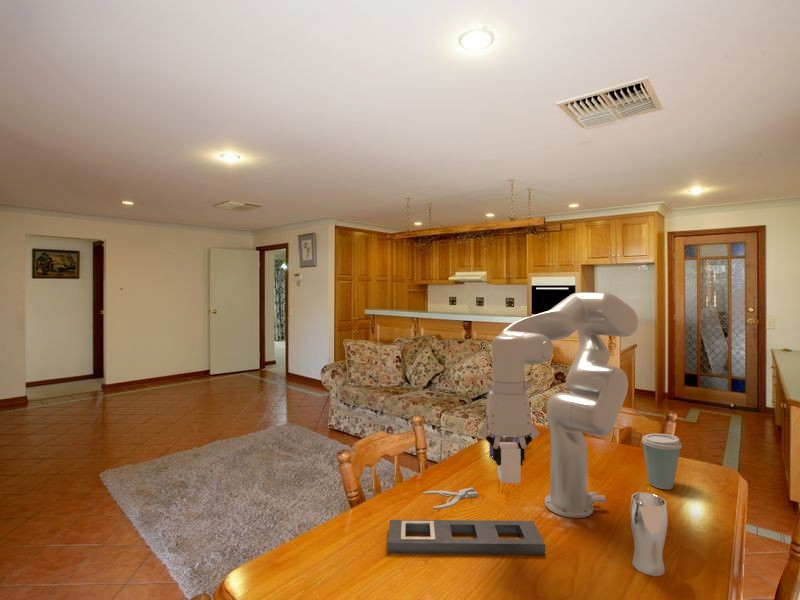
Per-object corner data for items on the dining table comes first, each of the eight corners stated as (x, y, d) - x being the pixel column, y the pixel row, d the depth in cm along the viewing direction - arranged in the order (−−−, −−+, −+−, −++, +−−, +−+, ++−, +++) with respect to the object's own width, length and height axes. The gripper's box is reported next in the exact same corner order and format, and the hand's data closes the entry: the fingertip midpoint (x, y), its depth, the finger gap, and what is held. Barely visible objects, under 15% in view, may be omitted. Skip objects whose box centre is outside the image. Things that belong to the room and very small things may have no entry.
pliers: (422, 489, 130) (468, 482, 134) (422, 494, 130) (468, 487, 134) (433, 505, 120) (483, 497, 124) (433, 510, 120) (483, 503, 124)
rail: (533, 530, 109) (533, 519, 109) (545, 554, 99) (545, 542, 99) (390, 529, 110) (389, 518, 110) (387, 553, 100) (387, 541, 100)
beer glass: (623, 558, 98) (623, 492, 97) (652, 556, 98) (653, 491, 98) (643, 579, 91) (643, 508, 90) (674, 576, 91) (675, 506, 91)
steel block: (516, 474, 106) (515, 442, 106) (520, 482, 102) (520, 449, 101) (497, 474, 106) (497, 442, 106) (501, 482, 102) (501, 449, 102)
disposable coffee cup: (643, 489, 131) (643, 440, 130) (638, 475, 141) (639, 429, 140) (685, 495, 127) (685, 444, 126) (677, 480, 137) (677, 432, 136)
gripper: (539, 383, 107) (539, 457, 107) (470, 384, 107) (471, 457, 108) (549, 391, 99) (549, 470, 100) (475, 391, 100) (475, 469, 100)
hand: (508, 462), depth 104 cm, fingers closed on steel block, 4 cm apart
